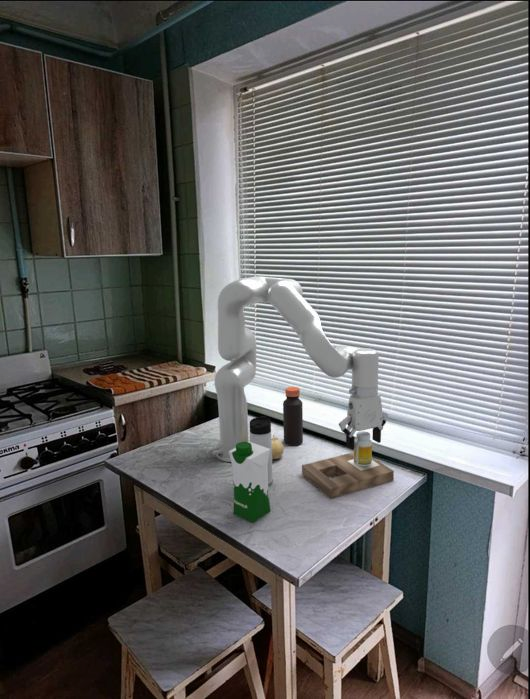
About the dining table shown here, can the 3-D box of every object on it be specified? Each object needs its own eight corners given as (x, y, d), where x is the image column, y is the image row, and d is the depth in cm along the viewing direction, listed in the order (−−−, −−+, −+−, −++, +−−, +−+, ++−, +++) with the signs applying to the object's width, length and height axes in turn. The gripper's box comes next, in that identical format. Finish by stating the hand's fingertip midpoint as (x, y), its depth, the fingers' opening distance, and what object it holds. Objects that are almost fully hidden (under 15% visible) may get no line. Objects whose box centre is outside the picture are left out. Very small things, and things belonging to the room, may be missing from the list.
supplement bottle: (350, 462, 143) (350, 433, 141) (361, 457, 147) (361, 428, 144) (363, 468, 139) (364, 438, 137) (375, 463, 142) (376, 433, 140)
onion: (281, 463, 151) (281, 443, 150) (257, 462, 153) (257, 442, 151) (285, 453, 159) (284, 433, 157) (262, 451, 160) (261, 432, 159)
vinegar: (280, 443, 166) (279, 389, 162) (290, 437, 172) (289, 384, 167) (296, 447, 162) (295, 393, 158) (306, 441, 168) (305, 387, 163)
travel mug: (275, 479, 141) (274, 416, 137) (268, 489, 135) (266, 424, 131) (256, 476, 143) (254, 414, 139) (248, 486, 137) (246, 422, 133)
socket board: (330, 498, 130) (330, 488, 129) (302, 474, 144) (301, 464, 143) (393, 480, 139) (393, 470, 138) (360, 458, 153) (360, 449, 152)
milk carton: (228, 514, 124) (224, 443, 119) (251, 499, 130) (249, 432, 126) (252, 526, 118) (249, 453, 114) (275, 510, 124) (274, 441, 120)
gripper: (347, 398, 131) (347, 455, 135) (396, 389, 138) (394, 443, 142) (332, 391, 138) (332, 445, 141) (380, 382, 145) (378, 434, 148)
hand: (363, 444), depth 142 cm, fingers open, 9 cm apart
